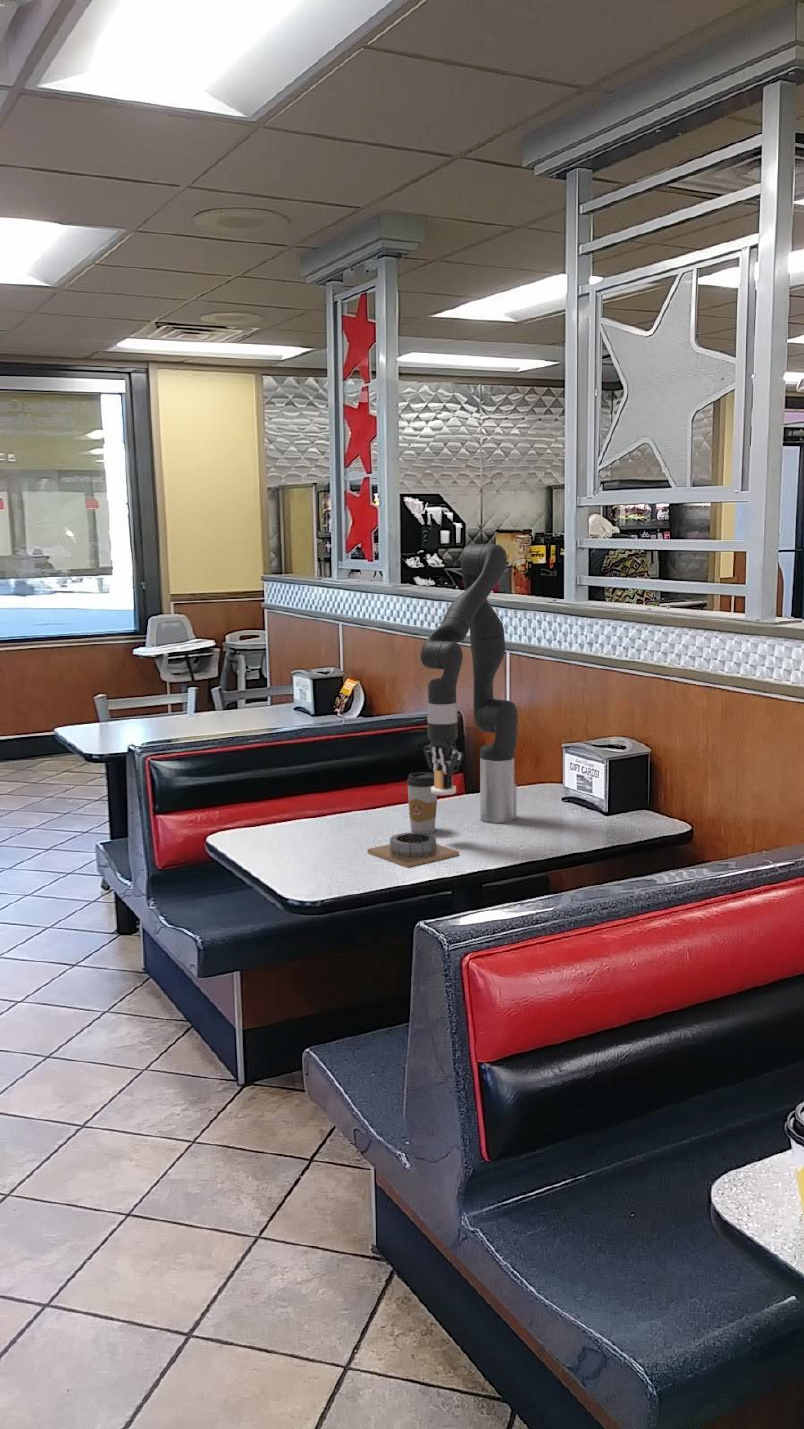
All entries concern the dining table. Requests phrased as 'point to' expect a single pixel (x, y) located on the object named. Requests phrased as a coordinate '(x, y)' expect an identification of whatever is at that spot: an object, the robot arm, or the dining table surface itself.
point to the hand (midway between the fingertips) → (443, 787)
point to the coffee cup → (421, 802)
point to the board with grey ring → (413, 849)
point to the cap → (441, 785)
